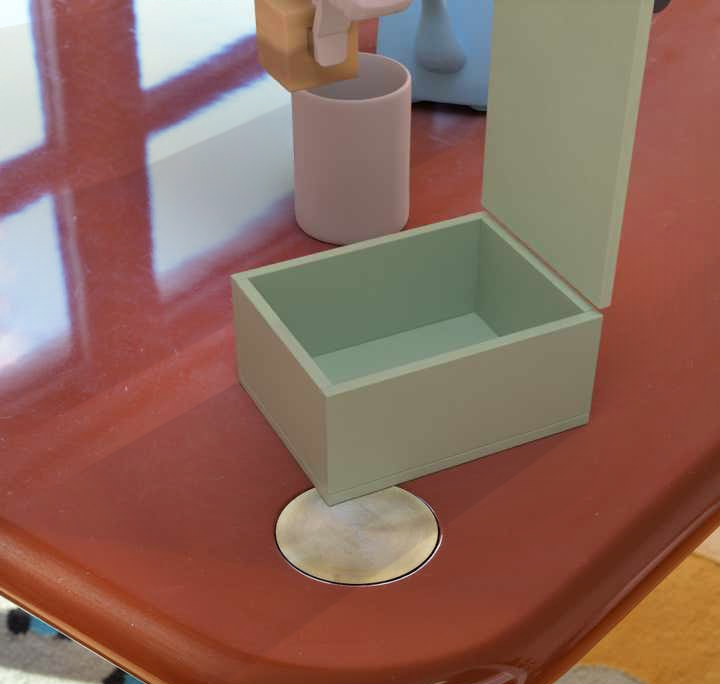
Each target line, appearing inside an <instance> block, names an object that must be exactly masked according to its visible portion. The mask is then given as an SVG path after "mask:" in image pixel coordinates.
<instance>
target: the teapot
mask: <svg viewBox="0 0 720 684" xmlns="http://www.w3.org/2000/svg"><path fill="white" fill-rule="evenodd" d="M493 11H494V0H412V2H411V4H410V5H409V7H408V8H407V9H406V10H404V11H402V12H399V13H395V14H390V15H386V16H382V17H377V18H376V19H377V20H378V25H377V36H376V51H375V54H376V55H381V56H385V57H388V58H391V59H393V60H395V61H397V62H399V63H401V64H402V65H404V66H405V67H406V68H407V70H408V71H409V73H410V76H411V103H418V102H422V101H429V102H436V103H445V104H454V105H463V106H469V107H470V108H472V109H473V110H475V111H481V112H487V104H488V88H489V73H490V57H491V42H492V26H493Z"/></svg>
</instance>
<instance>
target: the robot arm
mask: <svg viewBox="0 0 720 684" xmlns="http://www.w3.org/2000/svg"><path fill="white" fill-rule="evenodd" d="M311 2H312V4H313V5H315V6H316V12H315V18H314V24H313V26H312V27H307V42H308V46H307V50H308V54H309V56H311V57H312V58H313V59H314V60H315V61H316V62H317V63H318V64H319V65H321V66H323V67H327V66H331V65H336V64H341V63H342V62H344V61H345V59H346V58H347V31H348V29H349V26H350V24H351V21H352V20H353V21H358V22H359V21H365V20H366V21H367V20H371V19H372V20H373V19H378V18H377V17H382V16H386V15H390V14H395V13H399V12H402V11H404V10H406V9H407V8H408V7H409V5H410V4H411V2H412V0H311Z"/></svg>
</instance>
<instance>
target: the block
mask: <svg viewBox="0 0 720 684" xmlns="http://www.w3.org/2000/svg"><path fill="white" fill-rule="evenodd" d="M253 3H254V18H255V33H256V49H257V62H258V63H257V64H258V65H259V67H261V69H263V70H264V71H265V72H266V73H267V74H268V75H269V76H271V77H272V78H273V79H274V80H275V81H276V82H277V83H278V84H279V85H280V86H281V87H283V89H284V90H286V91H287V92H288V93H290V94H291V92H295V91H299V90H304V89H308V88H313V87H317V86H321V85H326V84H330V83H334V82H339V81H343V80H348V79H352V78H356V77H359V62H358V52H359V21H353V20H352V21H351V24H350V26H349V29H348V31H347V58H346V59H345V61H344V62H342V63H341V64H336V65H331V66H327V67H323V66H321V65H319V64H318V63H317V62H316V61H315V60H314V59H313V58H312V57H311V56H309V54H308V50H307V46H308V42H307V27H312V26H313V24H314V18H315V12H316V6H315V5H313V4H312V2H311V0H253Z"/></svg>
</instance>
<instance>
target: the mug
mask: <svg viewBox="0 0 720 684" xmlns="http://www.w3.org/2000/svg"><path fill="white" fill-rule="evenodd" d="M358 62H359V77H356V78H352V79H348V80H343V81H339V82H334V83H330V84H326V85H321V86H317V87H313V88H308V89H304V90H299V91H295V92H291V93H290V97H291V121H292V122H291V125H292V126H291V127H292V145H293V146H292V149H293V150H292V152H293V154H292V155H293V178H294V180H293V182H294V214H295V221H296V224H297V225H298V227H299V228H300V229H301V230H302V231H303V233H305V234H306V235H308V236H309V237H311V238H313V239H315V240H318V241H320V242H323V243H327V244H332V245H338V246H347V245H351V244H355V243H359V242H363V241H367V240H371V239H374V238H378V237H382V236H386V235H390V234H394V233H398V232H402V230H403V229H404V228H405V226H406V225H407V223H408V220H409V216H410V165H411V163H410V162H411V156H410V155H411V124H412V123H411V122H412V102H411V76H410V73H409V71H408V70H407V68H406V67H405V66H404V65H402V64H401V63H399V62H397V61H395V60H393V59H391V58H388V57H385V56H381V55H376V53H370V52H369V53H368V52H362V51H361V52H360V51H358Z"/></svg>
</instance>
